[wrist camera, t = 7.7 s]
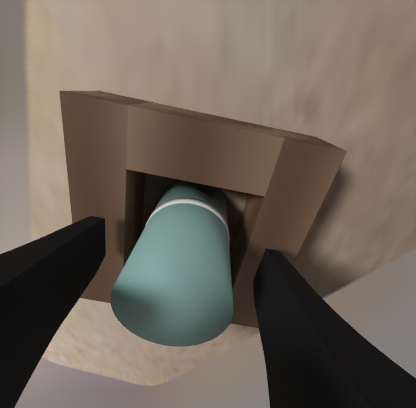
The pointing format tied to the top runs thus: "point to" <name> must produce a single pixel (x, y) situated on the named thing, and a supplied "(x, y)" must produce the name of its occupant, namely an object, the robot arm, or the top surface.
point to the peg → (179, 270)
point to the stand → (191, 179)
